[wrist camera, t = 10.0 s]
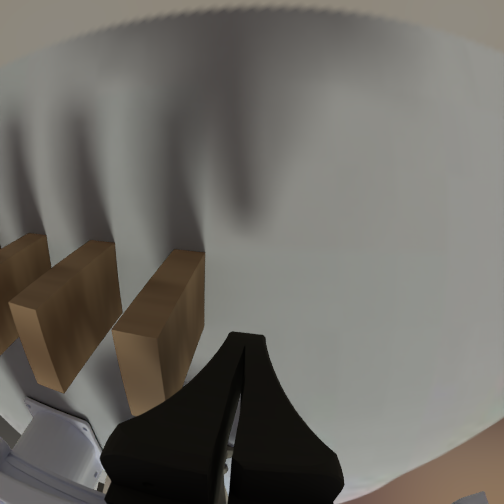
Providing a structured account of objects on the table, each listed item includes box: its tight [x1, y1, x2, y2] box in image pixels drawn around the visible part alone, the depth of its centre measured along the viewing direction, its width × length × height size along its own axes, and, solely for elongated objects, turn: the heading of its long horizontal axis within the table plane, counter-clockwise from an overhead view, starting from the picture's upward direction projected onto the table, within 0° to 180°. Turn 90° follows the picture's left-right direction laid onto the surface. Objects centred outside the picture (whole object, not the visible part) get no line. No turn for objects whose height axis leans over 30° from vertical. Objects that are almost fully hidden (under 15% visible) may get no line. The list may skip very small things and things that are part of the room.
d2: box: [8, 240, 123, 393], centre depth 14 cm, size 4×2×7 cm, turn 176°
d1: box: [112, 249, 205, 416], centre depth 13 cm, size 4×2×7 cm, turn 176°
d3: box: [0, 233, 51, 356], centre depth 14 cm, size 4×2×7 cm, turn 176°
